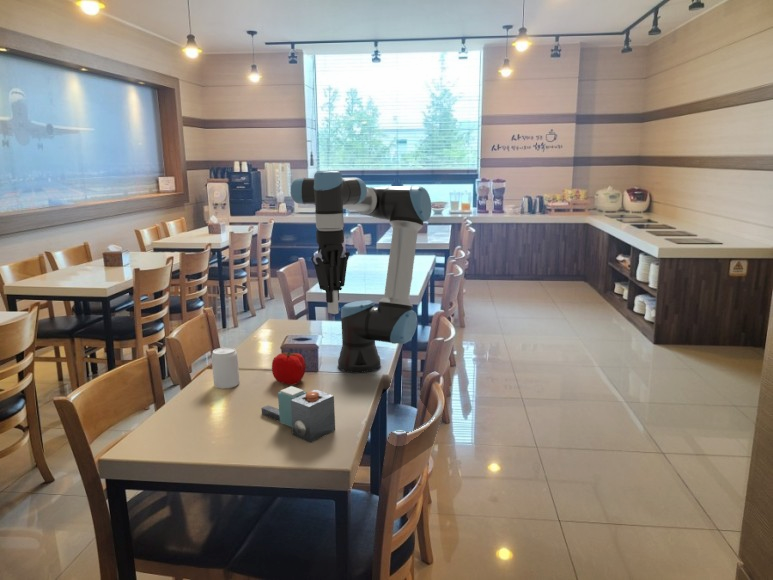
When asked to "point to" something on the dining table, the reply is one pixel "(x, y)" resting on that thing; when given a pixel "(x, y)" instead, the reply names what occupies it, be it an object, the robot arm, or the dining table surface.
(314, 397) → the plunger
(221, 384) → the beverage can
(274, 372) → the tomato
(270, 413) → the rail
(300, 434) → the grey box
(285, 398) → the block
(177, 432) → the dining table surface
